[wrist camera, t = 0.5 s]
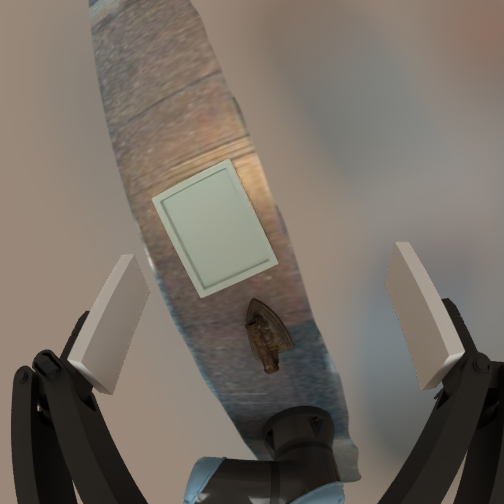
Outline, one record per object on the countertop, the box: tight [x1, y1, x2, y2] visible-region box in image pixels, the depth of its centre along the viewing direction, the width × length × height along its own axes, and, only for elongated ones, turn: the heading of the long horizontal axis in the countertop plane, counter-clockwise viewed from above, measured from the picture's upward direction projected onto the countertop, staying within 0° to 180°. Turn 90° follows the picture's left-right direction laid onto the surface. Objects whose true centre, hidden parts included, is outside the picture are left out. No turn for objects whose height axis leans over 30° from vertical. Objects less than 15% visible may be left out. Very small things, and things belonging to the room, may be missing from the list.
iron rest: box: [152, 159, 279, 298], centre depth 42 cm, size 17×13×2 cm
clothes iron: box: [245, 298, 294, 374], centre depth 43 cm, size 7×11×10 cm, turn 22°
